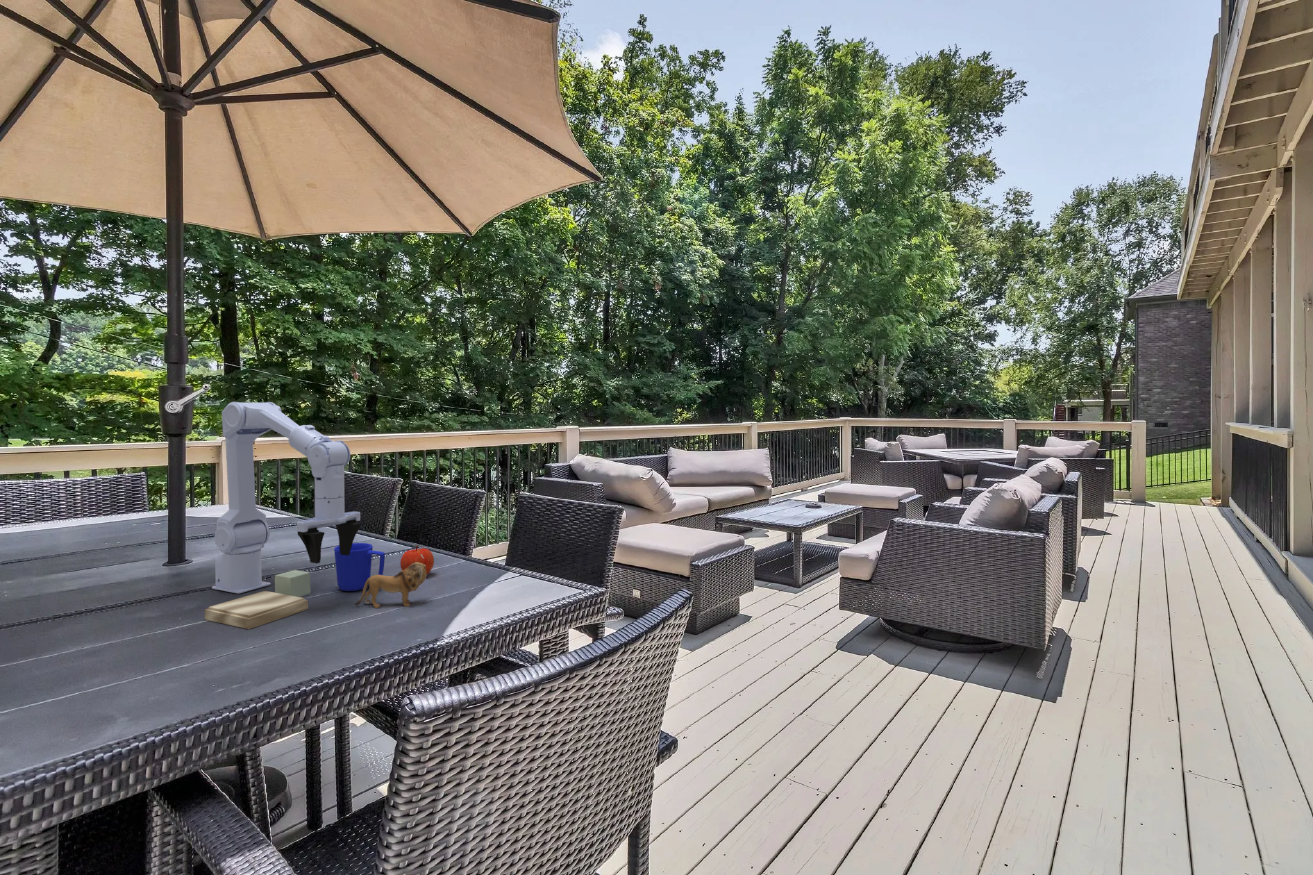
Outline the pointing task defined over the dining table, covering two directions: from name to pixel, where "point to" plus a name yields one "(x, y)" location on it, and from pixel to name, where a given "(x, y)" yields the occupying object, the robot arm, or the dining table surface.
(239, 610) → the plinth
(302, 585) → the sage cube
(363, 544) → the mug
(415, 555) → the apple
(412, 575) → the lion figurine
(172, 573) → the dining table surface
